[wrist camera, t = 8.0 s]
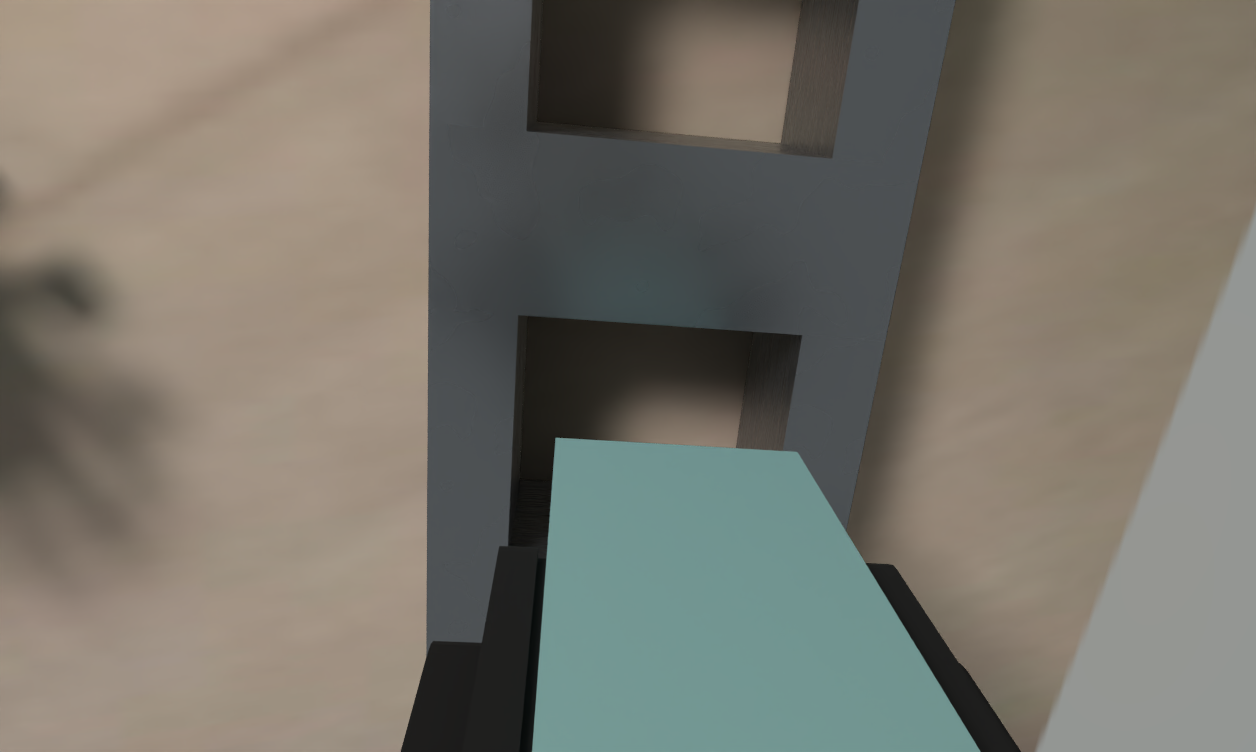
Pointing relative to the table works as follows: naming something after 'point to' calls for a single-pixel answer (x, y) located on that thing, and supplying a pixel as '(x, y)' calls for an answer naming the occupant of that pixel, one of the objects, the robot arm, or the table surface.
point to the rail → (659, 255)
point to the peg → (718, 614)
